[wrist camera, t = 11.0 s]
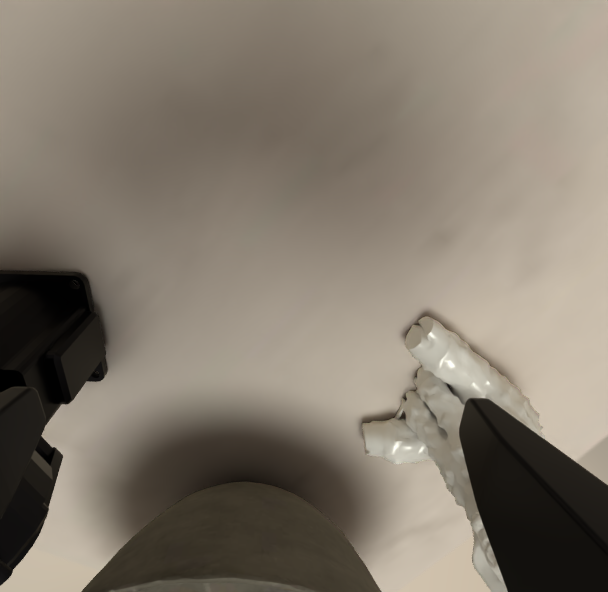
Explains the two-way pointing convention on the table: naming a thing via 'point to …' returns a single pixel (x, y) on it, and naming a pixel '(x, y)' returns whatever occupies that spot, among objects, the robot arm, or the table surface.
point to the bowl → (237, 547)
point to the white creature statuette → (447, 422)
